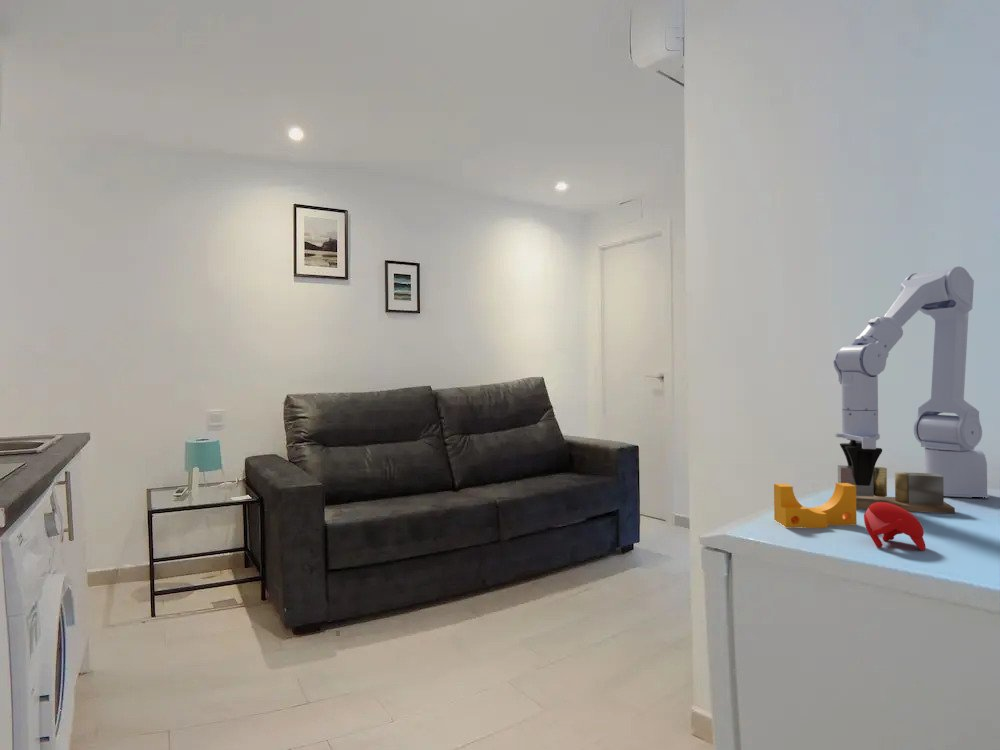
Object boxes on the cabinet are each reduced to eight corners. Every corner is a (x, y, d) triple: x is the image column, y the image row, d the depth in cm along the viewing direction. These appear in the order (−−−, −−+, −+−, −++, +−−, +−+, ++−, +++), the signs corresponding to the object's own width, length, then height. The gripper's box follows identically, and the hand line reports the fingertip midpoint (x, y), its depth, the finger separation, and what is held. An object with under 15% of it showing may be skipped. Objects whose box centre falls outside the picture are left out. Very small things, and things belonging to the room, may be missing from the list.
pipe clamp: (785, 529, 96) (785, 488, 96) (774, 522, 101) (773, 483, 100) (862, 528, 96) (862, 488, 96) (848, 521, 100) (847, 483, 100)
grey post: (884, 493, 111) (884, 466, 111) (888, 497, 108) (888, 469, 108) (838, 491, 114) (837, 465, 114) (841, 495, 111) (840, 467, 111)
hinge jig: (940, 504, 110) (940, 472, 110) (954, 513, 103) (954, 478, 103) (835, 499, 116) (834, 468, 116) (842, 507, 109) (842, 474, 109)
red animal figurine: (853, 523, 86) (894, 507, 82) (858, 502, 91) (897, 486, 87) (891, 569, 85) (934, 555, 81) (894, 545, 90) (935, 531, 86)
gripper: (828, 407, 119) (829, 475, 119) (842, 412, 106) (843, 489, 106) (869, 407, 117) (870, 477, 117) (889, 412, 103) (890, 492, 103)
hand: (860, 483), depth 111 cm, fingers closed on grey post, 3 cm apart
